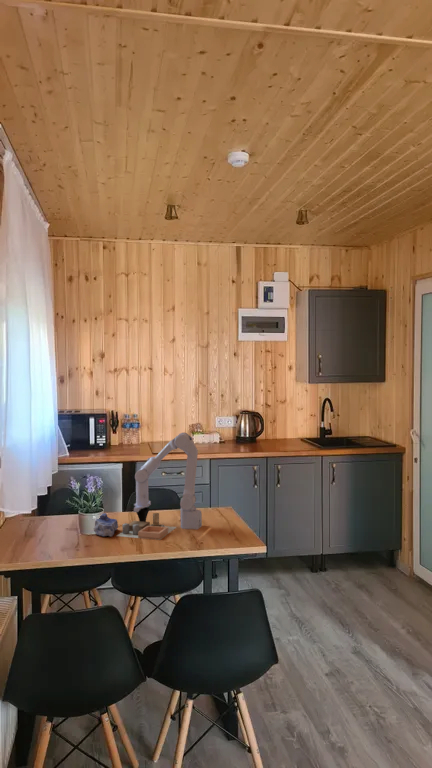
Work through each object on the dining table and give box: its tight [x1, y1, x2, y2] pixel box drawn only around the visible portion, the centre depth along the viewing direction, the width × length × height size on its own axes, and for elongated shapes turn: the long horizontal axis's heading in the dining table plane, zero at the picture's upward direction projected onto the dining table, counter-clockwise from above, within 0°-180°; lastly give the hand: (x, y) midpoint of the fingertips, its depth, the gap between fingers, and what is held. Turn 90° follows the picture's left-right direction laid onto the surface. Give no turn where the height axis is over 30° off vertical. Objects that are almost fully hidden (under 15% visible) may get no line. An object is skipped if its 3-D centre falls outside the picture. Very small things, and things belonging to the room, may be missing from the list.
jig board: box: [115, 522, 177, 541], centre depth 252 cm, size 21×20×5 cm
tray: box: [137, 526, 168, 540], centre depth 246 cm, size 10×10×2 cm
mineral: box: [93, 513, 119, 538], centre depth 250 cm, size 14×10×10 cm
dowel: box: [152, 512, 160, 526], centre depth 255 cm, size 3×3×7 cm
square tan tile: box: [128, 520, 151, 531], centre depth 256 cm, size 8×8×2 cm
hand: (142, 523), depth 260 cm, fingers closed
